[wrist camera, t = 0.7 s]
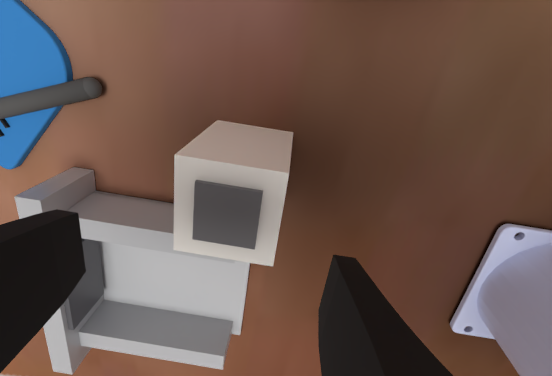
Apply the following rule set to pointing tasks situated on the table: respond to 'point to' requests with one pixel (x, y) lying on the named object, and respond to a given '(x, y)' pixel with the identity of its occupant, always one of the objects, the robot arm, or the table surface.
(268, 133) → the block
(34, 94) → the dark gray rod
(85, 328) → the dock
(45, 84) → the handheld gaming device
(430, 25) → the table surface
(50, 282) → the robot arm
